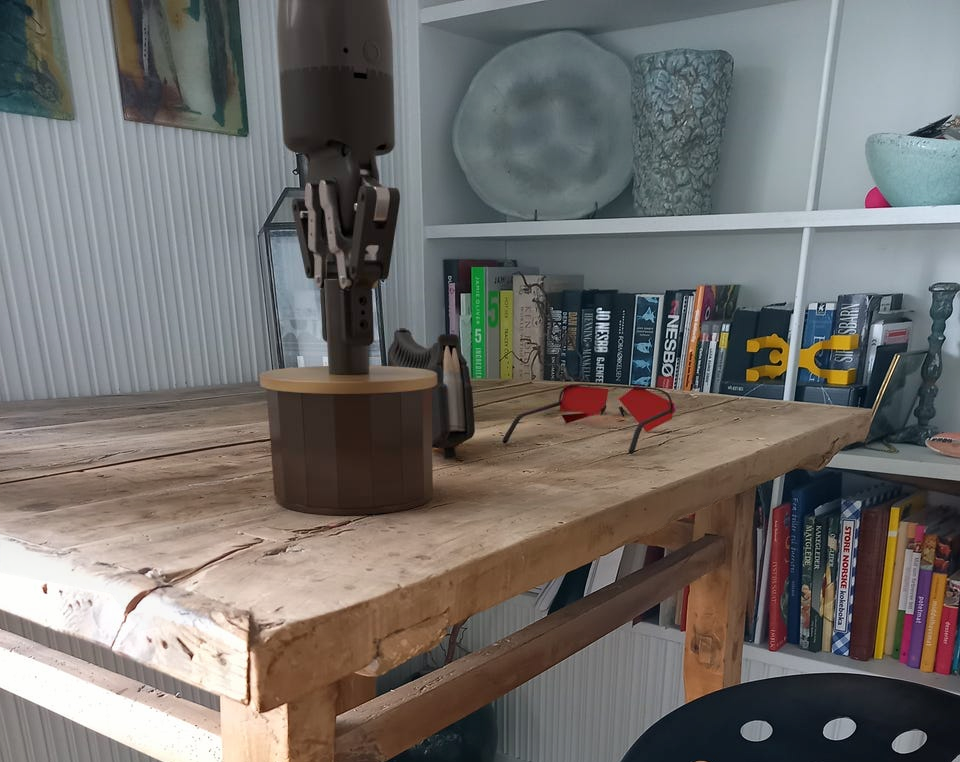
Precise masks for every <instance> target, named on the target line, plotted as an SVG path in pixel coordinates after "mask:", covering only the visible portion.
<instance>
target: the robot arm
mask: <svg viewBox="0 0 960 762" xmlns="http://www.w3.org/2000/svg"><path fill="white" fill-rule="evenodd" d="M277 2H278V3H277V15H276V16H277V17H276V39H277V57H278V72H279V73H278V75H279V87H280V88H279V89H280V90H279V92H280V104H281V105H280V106H281V121H282V137H283V139H282V140H283V143H284V146H285V147H286V149H287V150H289V151H290V152H292V153H296V154H303V155H304V156H305V157H306V158H307V162H308V163H307V174H306V181H305V189H304V197H293V199H292V201H291V211H292V216H293V220H294V224H295V228H296V235H297V240H298V245H299V249H300V255H301V258H302V263H303V268H304V274H305V277H306V279H312V280H313V279H314V285H315V287H316V289H319V297H320V318H321V335H322V339H323V341H324V342H326V343H327V329H326V309H325V289H324V279H339V283H340V286H341V288H342V289H346V290H340V311H341V333H342V341H343V343H344V344H345V345H348V346H371V345H372V344H373V343H374V341H375V334H374V333H375V329H374V328H375V327H374V325H375V324H374V300H373V299H374V298H373V290H376V289H377V287H378V283H379V280H387V279H388V277H389V275H390V268H391V261H392V256H393V255H392V254H393V249H394V241H395V236H396V229H397V224H398V223H397V222H398V217H399V216H398V215H399V209H400V203H401V194H400V190H399V189H398V188H397V187H387V186H383V185H382V184H381V183H380V172H379V169H378V164H377V159H376V157H380V156H385V155H388V154H390V153H391V152H392V151H393V150H394V148H395V145H396V137H395V136H396V135H395V134H396V133H395V132H396V131H395V130H396V129H395V89H394V88H395V87H394V86H395V85H394V48H393V47H394V45H393V30H392V22H391V15H390V9H389V7H390V6H389V0H278V1H277Z"/></svg>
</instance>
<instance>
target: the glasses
mask: <svg viewBox="0 0 960 762" xmlns="http://www.w3.org/2000/svg"><path fill="white" fill-rule="evenodd" d="M609 388H618V389H619V388H620V389H630V390H629V391H627V392H626V393H624V394H623V395H621V396H620V397H619V398H618V401H619V402H620V403H621V404H622V405H623V406H624V407H623V406H622V405H621V406H618V409H619V412H620V414H621V416H622V417H623V418H625V416H627V415H628V414H627V412H626V410H627V411H628V413H630V414H631V416H632V417H633V418H634V419H635V421H636V422H637V423H638V424H637V426H636V428H635V430H634V433H633V435H632V439H631V442H630V445H629V448H628V454H629V455H634V453H635V451H636V447H637V443H638V441H639V437H640V435H641V431H642V429H643V430H644V431H645V432H646V433H648V432H650V431H651V430H654V429H656V428H657V427H659V426H661V425H663V424H665V423H667V422H668V421H671V420H672V419H673V415H674V414H675V413H676V410H677V408H676V406H675V403H674V402H673V401H672V398H671V396H670V394H669V393H668V392H667V391H665V390H664V389H660V388H656V387H650V386H640V385H638V384H637V385H634V386H629V385H614V384H613V385H611V384H600V383H597V384H595V383H572V384H564V387H563V388H562V389H561V391H560V393H559V396H558V401H557V402H554V403H551V404H547V405H545V406H541V407H538V408H534V409H531V410H528V411H526V412H522V413H519V414H518V415H517V416H516V417H515V418H514V420H513V421H512V423H511V424H510V426H509V427H508V429H507V432H506V433H505V435H504V436H503V438H502V439H501V440H502V443H503V444H507V443H508V442H509V440H510V438H511V436H512V435H513V433H514V431H515V429H516V427H517V426H518V424H519V423H520V421H521V420H522V419H523V418H524V417H527V416H529V415H532V414H536V413H540V412H543V411H546V410H550V409H552V408H556V407H559V409H558V411H559V412H570V413H565V414H560V416H561V417H562V419H563V421H564V422H565V424H571V423H573V422H576V421H579V420H582V419H587V418H589V417H592V416H595V415H600V416H602V415H603V414H604V413H605V412H606V409H607V407H608V406H607V402H608V395H609ZM651 390H652V391H656V392H661V393H663V394H664V395H665V396H667V398H668V399H666V398H665V397H662V396H660V395H658V394H656V393H655V392H652V391H651ZM624 408H625V409H626V410H625V409H624Z"/></svg>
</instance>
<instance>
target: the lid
mask: <svg viewBox="0 0 960 762" xmlns="http://www.w3.org/2000/svg"><path fill="white" fill-rule="evenodd" d="M324 289H325V309H326V329H327V342H326V347H327V365H316V366H314V365H313V366H299V367H285V368H277V369H276V368H275V369H270V370H265V371H262V372H260V373H259V385H260V387H261V388H264V389H266V390H267V389H270V390H276V391H284V392H296V393H314V394H373V393H393V392H405V391H415V390H422V389H427V388H431V387H434V386H436V385H437V373H436V372H434V371H431V370H426V369H418V368H408V367H392V366H388V365H370V347H369V346H370V345H369V346H348V345H345V344H344V343H343V341H342V333H341V311H340V290H346V289H342V288H341V286H340V283H339V279H324Z"/></svg>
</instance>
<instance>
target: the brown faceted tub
mask: <svg viewBox="0 0 960 762" xmlns="http://www.w3.org/2000/svg"><path fill="white" fill-rule="evenodd" d="M266 399H267V413H268V428H269V443H270V455H271V468H272V482H273V483H272V485H273V495H274V498H275V502H276V504H277V505H279V506H280V507H283V508H284V509H288V510H292V511H296V512H301V513H308V514H315V515H324V516H325V515H326V516H330V515H331V516H367V515H381V514H389V513H390V514H391V513H396V512H401V511H406V510H410V509H414V508H418V507H421V506H423V505H425V504H427V503H429V502H430V500H432V497H433V491H434V485H433V484H434V477H433V475H434V474H433V473H434V472H433V470H434V469H433V465H434V464H433V448H432V387H431V388H427V389H422V390H415V391H405V392H393V393H373V394H314V393H296V392H284V391H276V390H270V389H266Z"/></svg>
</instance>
